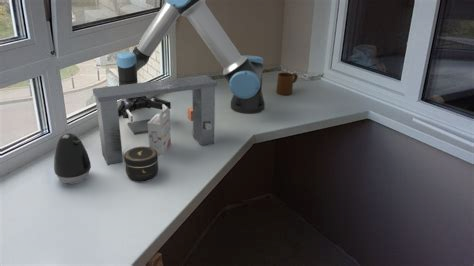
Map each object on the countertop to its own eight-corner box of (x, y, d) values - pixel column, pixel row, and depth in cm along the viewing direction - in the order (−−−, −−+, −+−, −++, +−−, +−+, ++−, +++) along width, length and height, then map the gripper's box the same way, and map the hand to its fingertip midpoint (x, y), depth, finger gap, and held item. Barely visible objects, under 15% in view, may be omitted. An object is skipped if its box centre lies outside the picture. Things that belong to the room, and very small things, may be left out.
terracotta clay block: (187, 117, 156) (187, 107, 154) (197, 116, 157) (197, 106, 156) (204, 133, 143) (204, 123, 142) (214, 131, 145) (214, 121, 143)
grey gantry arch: (100, 154, 140) (92, 88, 130) (206, 134, 157) (206, 74, 147) (106, 166, 133) (98, 97, 123) (216, 144, 150) (216, 82, 140)
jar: (129, 186, 123) (126, 163, 120) (123, 170, 131) (121, 148, 128) (162, 179, 127) (160, 157, 123) (154, 164, 135) (153, 143, 132)
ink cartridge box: (158, 143, 149) (156, 105, 143) (171, 144, 148) (169, 106, 142) (148, 154, 141) (146, 114, 135) (162, 155, 140) (160, 115, 134)
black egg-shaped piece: (72, 192, 119) (64, 145, 112) (49, 181, 124) (40, 135, 117) (99, 177, 127) (94, 132, 120) (77, 167, 132) (70, 123, 125)
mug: (290, 88, 210) (291, 70, 206) (301, 92, 205) (303, 73, 201) (273, 92, 203) (274, 74, 199) (284, 96, 198) (285, 78, 194)
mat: (127, 125, 163) (127, 122, 162) (152, 120, 167) (152, 118, 167) (134, 134, 155) (134, 132, 154) (160, 130, 159) (160, 127, 159)
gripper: (165, 102, 172) (183, 120, 155) (104, 111, 161) (116, 132, 144) (164, 85, 169) (183, 101, 152) (102, 92, 158) (114, 112, 141)
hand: (150, 116), depth 148 cm, fingers open, 13 cm apart
